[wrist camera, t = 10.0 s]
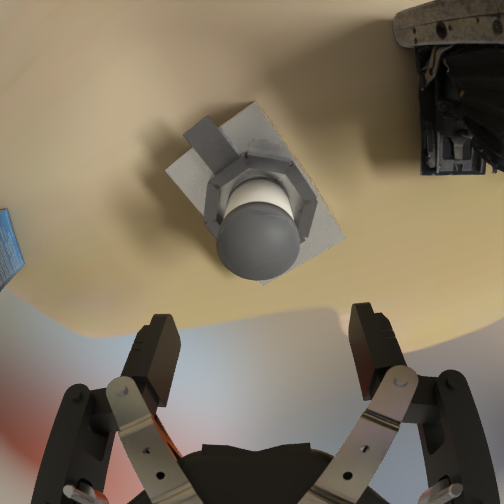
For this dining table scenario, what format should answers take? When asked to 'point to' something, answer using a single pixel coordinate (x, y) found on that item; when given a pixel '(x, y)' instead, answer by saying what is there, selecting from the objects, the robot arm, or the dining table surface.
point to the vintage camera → (458, 83)
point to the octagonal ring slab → (250, 164)
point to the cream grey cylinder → (258, 230)
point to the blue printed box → (8, 250)
